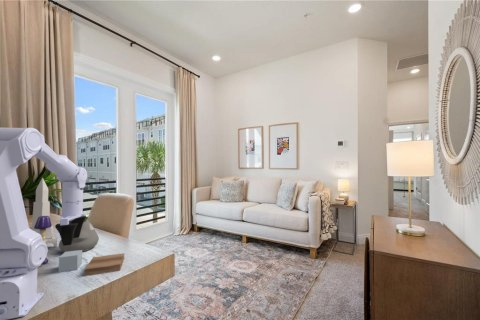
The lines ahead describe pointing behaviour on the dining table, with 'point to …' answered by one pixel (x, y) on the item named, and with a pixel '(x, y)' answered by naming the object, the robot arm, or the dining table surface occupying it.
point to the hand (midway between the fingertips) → (71, 241)
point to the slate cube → (70, 261)
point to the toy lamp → (43, 229)
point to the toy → (82, 239)
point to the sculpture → (42, 210)
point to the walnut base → (104, 264)
